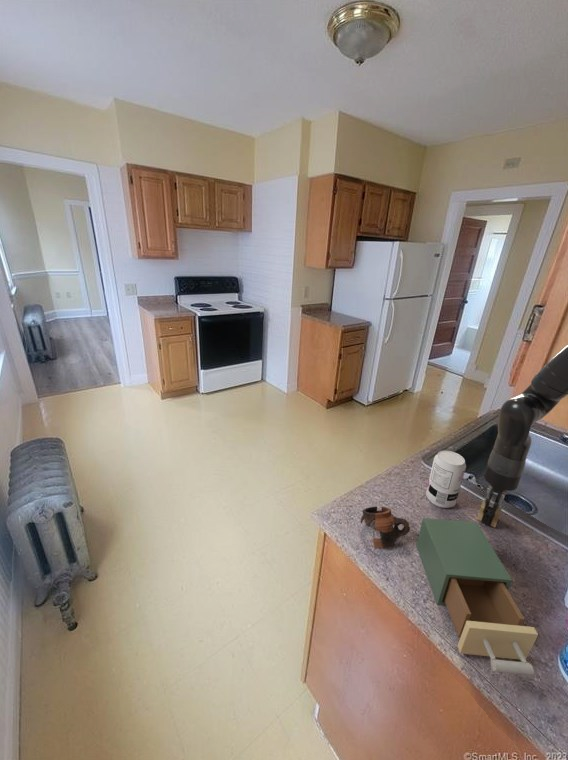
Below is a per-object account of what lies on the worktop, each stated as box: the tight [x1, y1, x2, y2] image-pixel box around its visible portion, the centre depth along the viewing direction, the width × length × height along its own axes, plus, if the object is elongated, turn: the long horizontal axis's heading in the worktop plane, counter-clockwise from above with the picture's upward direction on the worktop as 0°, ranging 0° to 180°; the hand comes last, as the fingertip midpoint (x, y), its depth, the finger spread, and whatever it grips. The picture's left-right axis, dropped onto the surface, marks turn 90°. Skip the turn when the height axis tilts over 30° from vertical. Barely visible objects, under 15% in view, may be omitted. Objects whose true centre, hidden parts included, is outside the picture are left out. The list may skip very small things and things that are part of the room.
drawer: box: [443, 577, 539, 676], centre depth 61 cm, size 18×11×7 cm, turn 175°
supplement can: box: [425, 450, 467, 509], centre depth 93 cm, size 8×8×15 cm
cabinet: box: [415, 517, 513, 606], centre depth 72 cm, size 15×13×9 cm
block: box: [476, 498, 503, 528], centre depth 88 cm, size 4×4×4 cm
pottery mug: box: [360, 506, 411, 549], centre depth 83 cm, size 12×9×8 cm
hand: (487, 517), depth 89 cm, fingers closed on block, 4 cm apart
